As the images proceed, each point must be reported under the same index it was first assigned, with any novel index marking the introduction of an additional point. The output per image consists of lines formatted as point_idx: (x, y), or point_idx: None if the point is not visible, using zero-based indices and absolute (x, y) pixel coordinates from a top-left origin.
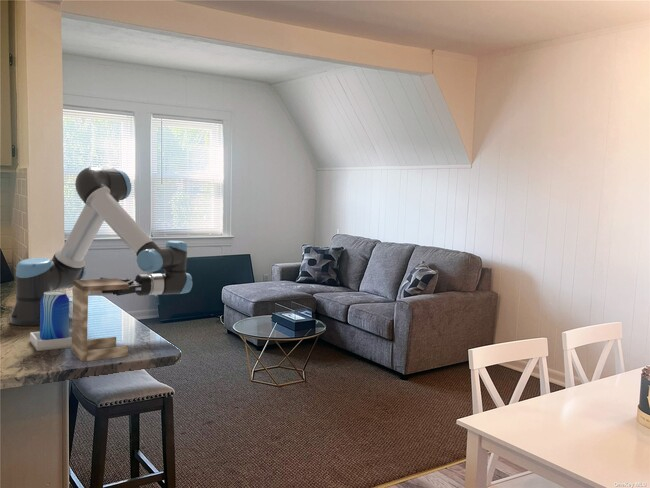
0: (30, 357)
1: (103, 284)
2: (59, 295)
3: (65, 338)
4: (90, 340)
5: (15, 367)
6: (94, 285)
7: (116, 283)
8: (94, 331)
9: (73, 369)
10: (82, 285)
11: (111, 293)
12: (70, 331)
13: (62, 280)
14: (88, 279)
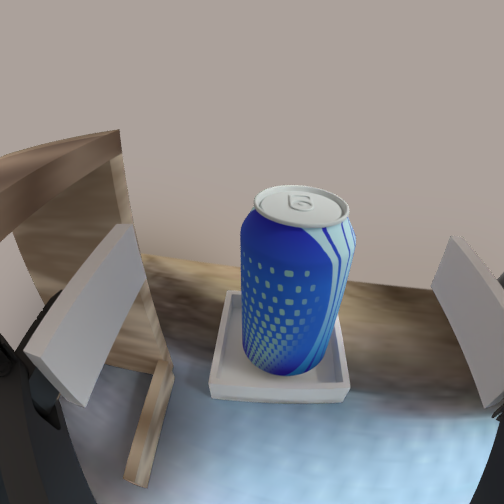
0: (184, 290)
1: None
2: (255, 208)
3: (216, 346)
4: (147, 396)
5: (143, 263)
6: None
7: None
8: (402, 482)
9: None
10: (13, 152)
11: (66, 395)
12: (313, 383)
13: None
14: (480, 273)
